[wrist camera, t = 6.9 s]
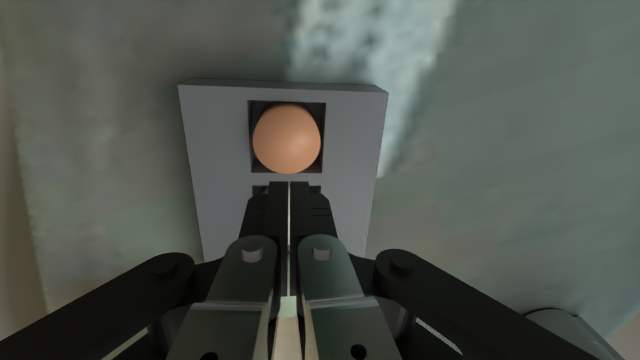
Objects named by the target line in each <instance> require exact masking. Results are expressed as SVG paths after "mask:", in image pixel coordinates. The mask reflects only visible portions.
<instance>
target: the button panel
mask: <svg viewBox="0 0 640 360" xmlns="http://www.w3.org/2000/svg"><path fill="white" fill-rule="evenodd" d="M177 86H178V92H179V99H180V105H181V112H182V118H183V125H184V131H185V138H186V144H187V151H188V157H189V164H190V170H191V177H192V183H193V190H194V196H195V203H196V209H197V216H198V223H199V229H200V236H201V242H202V249H203V255H204V262H210V261H213V260H216V259H219V258H221V257H223V256H224V255H225V252H226V250H227V248H228V246H229V245H230V244H231V243H232V242H234V241H235V240H237V239H238V237H239V233H240V229H241V225H242V221H243V218H244V214H245V210H246V206H247V202H248V200H249V199H250V198H251V197H252V196H253V195H254V194H261V192H262V189H263V187H264V186H265V185H269V182H270V181H288V186H290V181H309V187H310V188H311V190H312V194H323V195H324V196H325V197H326V198H327V199H328V200H329V202H330V206H331V211H332V216H333V219H334V223H335V227H336V231H337V236H338V239H339V240H340V241H341V242H343V244H344V245H345V247H346V249H347V251H348V252H349V253H351V254H353V255H355V256H358V257H362V258H364V255H365V249H366V242H367V235H368V229H369V222H370V215H371V209H372V202H373V195H374V188H375V182H376V175H377V168H378V162H379V155H380V148H381V142H382V135H383V128H384V122H385V115H386V108H387V102H388V95H389V93H388V92H386V91H385V90H383V89H381V88H379V87H378V86H376V85H357V84H332V83H308V82H283V81H258V80H234V79H209V78H192V79H189V80H187V81H185V82H183V83H180V84H178V85H177ZM275 101H291V102H300V103H302V104H303V105H305V106H306V107H307V108H308V109H309V110H310V111H311V113H312V114H313V116H314V119H315V122H316V125H317V128H318V131H319V134H320V140H321V144H320V150H319V153H318V156H317V157H316V159H315V160H314V162H313V163H312V164H311V165H310V166H309V167H307V168H306V169H304V170H302V171H300V172H297V173H292V174H282V173H277V172H274V171H272V170H270V169H268V168H267V167H266V166H264V165H263V164H262V163H261V162H260V161H259V159H258V158H257V156H256V154H255V152H254V148H253V134H254V131H255V128H256V125H257V122H258V119H259V117H260V115H261V113H262V111H263V110H264V109H265V108H266V107H267V106H268V105H269V104H271V103H273V102H275ZM288 251H290V245H288Z"/></svg>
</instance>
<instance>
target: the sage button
mask: <svg viewBox="0 0 640 360" xmlns="http://www.w3.org/2000/svg"><path fill="white" fill-rule="evenodd" d="M295 316H296V296H290V251H288V290H287V296H286V297H281V306H280V311H279V313H278V317H280V318H290V317H295Z"/></svg>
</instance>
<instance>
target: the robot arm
mask: <svg viewBox="0 0 640 360" xmlns="http://www.w3.org/2000/svg"><path fill="white" fill-rule="evenodd" d="M287 290H288V181H270V182H269V188H268V194H254V195H253V196H252V197H251V198H250V199H249V200H248V202H247V206H246V210H245V214H244V218H243V221H242V225H241V229H240V233H239V237H238V239H237V240H235V241H234V242H232V243H231V244H230V245H229V246H228V248H227V250H226V252H225V255H224V256H223V257H221V258H219V259H216V260H213V261H210V262H205V263H201V264H197V265H195V263H194V260H193V259H192V258H191V257H190V256H189V255H187V254H184V253H178V252H173V253H165V254H161V255H158V256H155V257H153V258H151V259H149V260H147V261H145V262H143V263H141V264H140V265H138V266H136V267H134V268H132V269H131V270H129V271H127V272H125V273H123V274H121V275H120V276H118V277H116V278H114V279H112V280H111V281H109V282H107V283H105V284H103V285H101V286H100V287H98V288H96V289H94V290H92V291H91V292H89V293H87V294H85V295H83V296H81V297H80V298H78V299H76V300H74V301H72V302H71V303H69V304H67V305H65V306H63V307H61V308H60V309H58V310H56V311H54V312H52V313H51V314H49V315H47V316H45V317H43V318H41V319H40V320H38V321H36V322H35V323H32V324H31V325H29V326H27V327H25V328H23V329H21V330H20V331H18V332H16V333H14V334H12V335H11V336H9V337H7V338H5V339H3V340H2V341H0V360H101V359H103V358H104V357H106V356H107V355H108V354H110V353H111V352H112V351H114V350H115V349H117V348H118V347H119V346H121V345H122V344H123V343H125V342H126V341H128V340H129V339H130V338H132V337H133V336H135V335H136V334H137V333H139V332H140V331H141V330H143V329H144V328H147V331H148V333H146V334H145V335H144V336H142V337H141V338H140V339H138V340H137V341H136V342H134V343H133V344H132V345H130V346H129V347H128V348H126V349H125V350H123V351H122V352H121V353H119V354H118V355H117V356H115V357H114V358H113V359H111V360H273V358H274V350H275V343H276V335H277V327H278V313H279V311H280V306H281V297H286V296H287ZM290 296H296V323H297V333H298V342H299V351H300V360H625V359H624V358H623V357H622V356H621V355H620V354H619V353H618V352H617V351H615V349H614V348H613V347H611V346H610V345H609V344H608V343H607V342H606V341H605V340H604V339H603V338H602V337H601V336H600V335H599V334H598V333H597V332H596V331H595V330H594V329H593V328H592V327H591V326H590V325H589V324H588V323H586V322H585V321H584V320H583V319H582V318H581V317H573V316H571V315H570V314H569V313H568V312H566V311H563V310H558V309H546V310H541V311H537V312H534V313H531V314H528V315H526V316H522V315H521V314H519V313H517V312H515V311H514V310H512V309H510V308H508V307H507V306H505V305H503V304H501V303H500V302H498V301H496V300H494V299H492V298H491V297H489V296H487V295H485V294H484V293H482V292H480V291H478V290H477V289H475V288H473V287H471V286H470V285H468V284H466V283H464V282H463V281H461V280H459V279H457V278H455V277H454V276H452V275H450V274H448V273H447V272H445V271H443V270H441V269H440V268H438V267H436V266H434V265H433V264H431V263H429V262H427V261H426V260H424V259H422V258H420V257H418V256H417V255H415V254H413V253H411V252H408V251H405V250H401V249H388V250H384V251H382V252H380V253H379V254H378V255H377V257H376V260H371V259H366V258H362V257H358V256H355V255H353V254H351V253H349V252H348V251H347V249H346V247H345V245H344V244H343V242H341V241H340V240H339V239H338V236H337V231H336V227H335V223H334V219H333V216H332V211H331V206H330V202H329V200H328V199H327V198H326V197H325V196H324V195H323V194H310V188H309V181H290ZM417 317H418V318H419V319H421V320H422V321H423V322H425V323H426V324H427V325H429V326H430V327H432V328H433V329H434V330H436V331H437V332H439V333H440V334H441V335H443V336H444V337H446V338H447V339H448V340H450V341H451V342H453V343H454V344H455V345H456V346H457V347H458V348H459V349H460V351H461V352H462V354H463V355H461V354H460V353H458V352H457V351H455V350H454V349H453V348H451V347H450V346H449V345H447V344H446V343H444V342H443V341H442V340H440V339H439V338H438V337H436V336H435V335H433V334H432V333H431V332H429V331H428V330H427V329H425V328H424V327H423V326H421V325H420V324H418V323H417V322H416V318H417Z"/></svg>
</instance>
